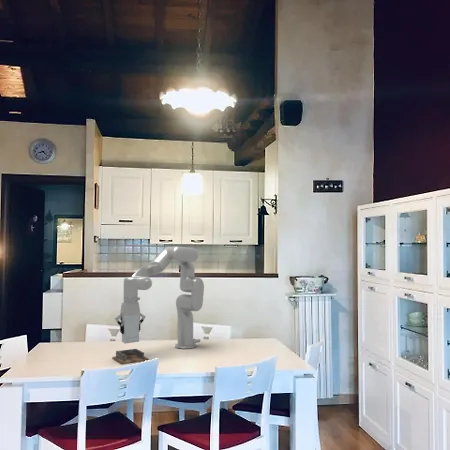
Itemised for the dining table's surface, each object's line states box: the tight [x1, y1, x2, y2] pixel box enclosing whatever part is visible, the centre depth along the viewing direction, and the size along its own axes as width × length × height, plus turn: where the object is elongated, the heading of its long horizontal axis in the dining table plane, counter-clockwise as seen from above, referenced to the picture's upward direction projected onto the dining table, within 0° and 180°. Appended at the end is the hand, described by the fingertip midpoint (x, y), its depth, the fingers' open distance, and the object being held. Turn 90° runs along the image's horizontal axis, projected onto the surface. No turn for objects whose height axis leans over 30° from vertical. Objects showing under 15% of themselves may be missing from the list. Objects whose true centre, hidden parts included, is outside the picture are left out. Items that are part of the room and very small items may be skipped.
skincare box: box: [121, 315, 140, 344], centre depth 246 cm, size 8×6×15 cm
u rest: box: [111, 348, 150, 365], centre depth 245 cm, size 15×15×4 cm
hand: (130, 332), depth 246 cm, fingers closed on skincare box, 8 cm apart
